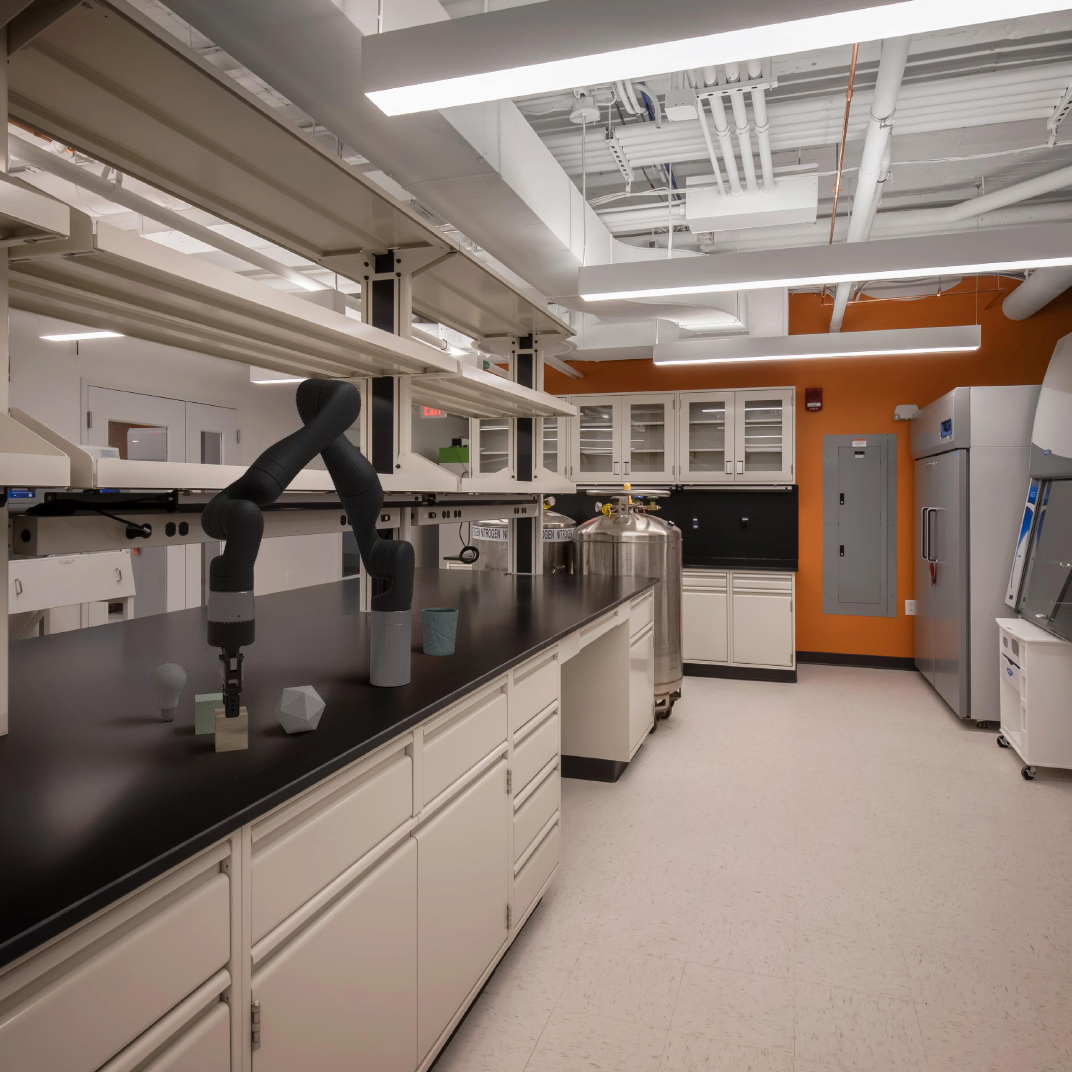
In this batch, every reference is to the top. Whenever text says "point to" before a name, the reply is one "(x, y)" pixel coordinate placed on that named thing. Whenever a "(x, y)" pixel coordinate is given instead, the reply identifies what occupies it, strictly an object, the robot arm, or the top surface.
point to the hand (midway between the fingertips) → (230, 710)
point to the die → (299, 709)
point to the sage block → (207, 712)
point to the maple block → (231, 731)
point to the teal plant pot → (439, 630)
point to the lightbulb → (168, 687)
